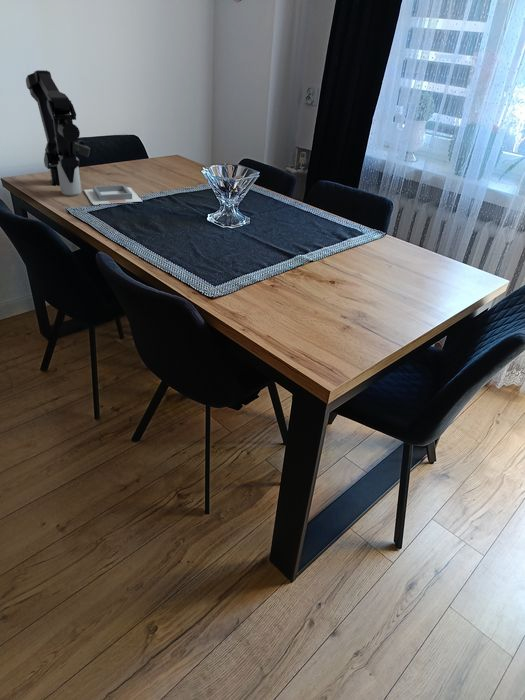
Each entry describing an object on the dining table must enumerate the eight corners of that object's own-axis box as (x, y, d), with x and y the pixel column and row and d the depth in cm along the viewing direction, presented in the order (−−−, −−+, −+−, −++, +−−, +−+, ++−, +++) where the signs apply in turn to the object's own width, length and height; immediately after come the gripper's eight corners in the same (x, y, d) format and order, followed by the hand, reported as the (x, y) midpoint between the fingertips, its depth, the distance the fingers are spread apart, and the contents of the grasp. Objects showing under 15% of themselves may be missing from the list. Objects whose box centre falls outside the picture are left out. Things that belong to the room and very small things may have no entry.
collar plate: (84, 191, 193) (83, 184, 191) (130, 188, 200) (129, 182, 199) (93, 205, 180) (92, 198, 178) (142, 202, 187) (142, 195, 186)
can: (85, 191, 192) (81, 159, 185) (77, 197, 186) (72, 164, 179) (66, 189, 192) (61, 157, 186) (57, 195, 186) (52, 162, 180)
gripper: (92, 140, 174) (96, 185, 183) (82, 129, 188) (87, 172, 196) (58, 141, 170) (65, 187, 178) (50, 130, 183) (57, 173, 192)
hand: (69, 179), depth 186 cm, fingers closed on can, 7 cm apart
